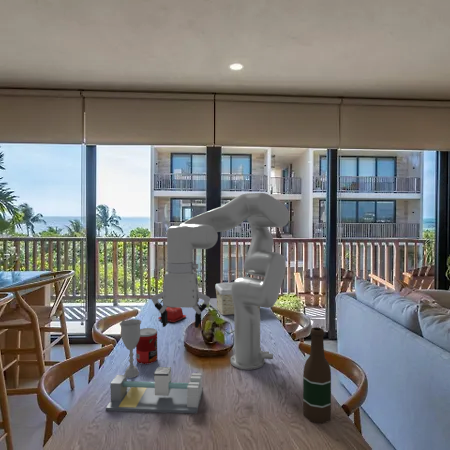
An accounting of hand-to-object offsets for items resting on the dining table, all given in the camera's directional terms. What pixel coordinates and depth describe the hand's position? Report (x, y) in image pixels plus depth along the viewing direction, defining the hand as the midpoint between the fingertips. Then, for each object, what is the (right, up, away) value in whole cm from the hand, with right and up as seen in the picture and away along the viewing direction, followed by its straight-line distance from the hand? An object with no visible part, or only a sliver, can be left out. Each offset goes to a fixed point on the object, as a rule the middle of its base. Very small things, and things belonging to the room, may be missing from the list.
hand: (181, 325), depth 97 cm
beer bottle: (+38, -23, -7) cm, 45 cm away
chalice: (-19, -22, +17) cm, 34 cm away
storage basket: (+20, -19, +89) cm, 93 cm away
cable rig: (-7, -23, +1) cm, 24 cm away
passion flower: (-20, -19, +98) cm, 102 cm away
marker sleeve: (-5, -20, +1) cm, 21 cm away
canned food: (-17, -22, +28) cm, 39 cm away
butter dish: (-15, -20, +76) cm, 80 cm away
